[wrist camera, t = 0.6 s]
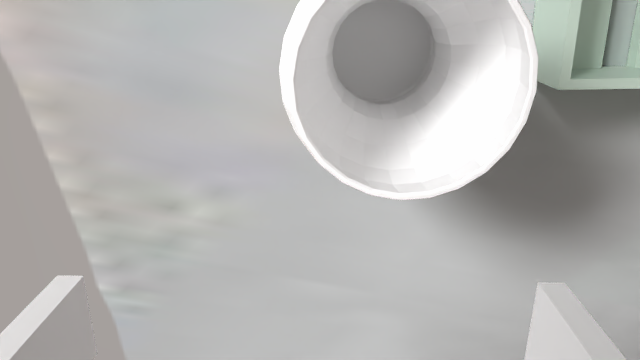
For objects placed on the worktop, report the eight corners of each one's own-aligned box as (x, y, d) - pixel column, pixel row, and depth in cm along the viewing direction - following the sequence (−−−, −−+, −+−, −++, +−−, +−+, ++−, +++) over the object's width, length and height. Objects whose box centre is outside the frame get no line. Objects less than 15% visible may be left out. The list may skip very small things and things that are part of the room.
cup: (484, 82, 34) (592, 143, 20) (342, 151, 36) (349, 252, 22) (420, -74, 31) (494, -133, 17) (268, 11, 33) (220, 23, 19)
